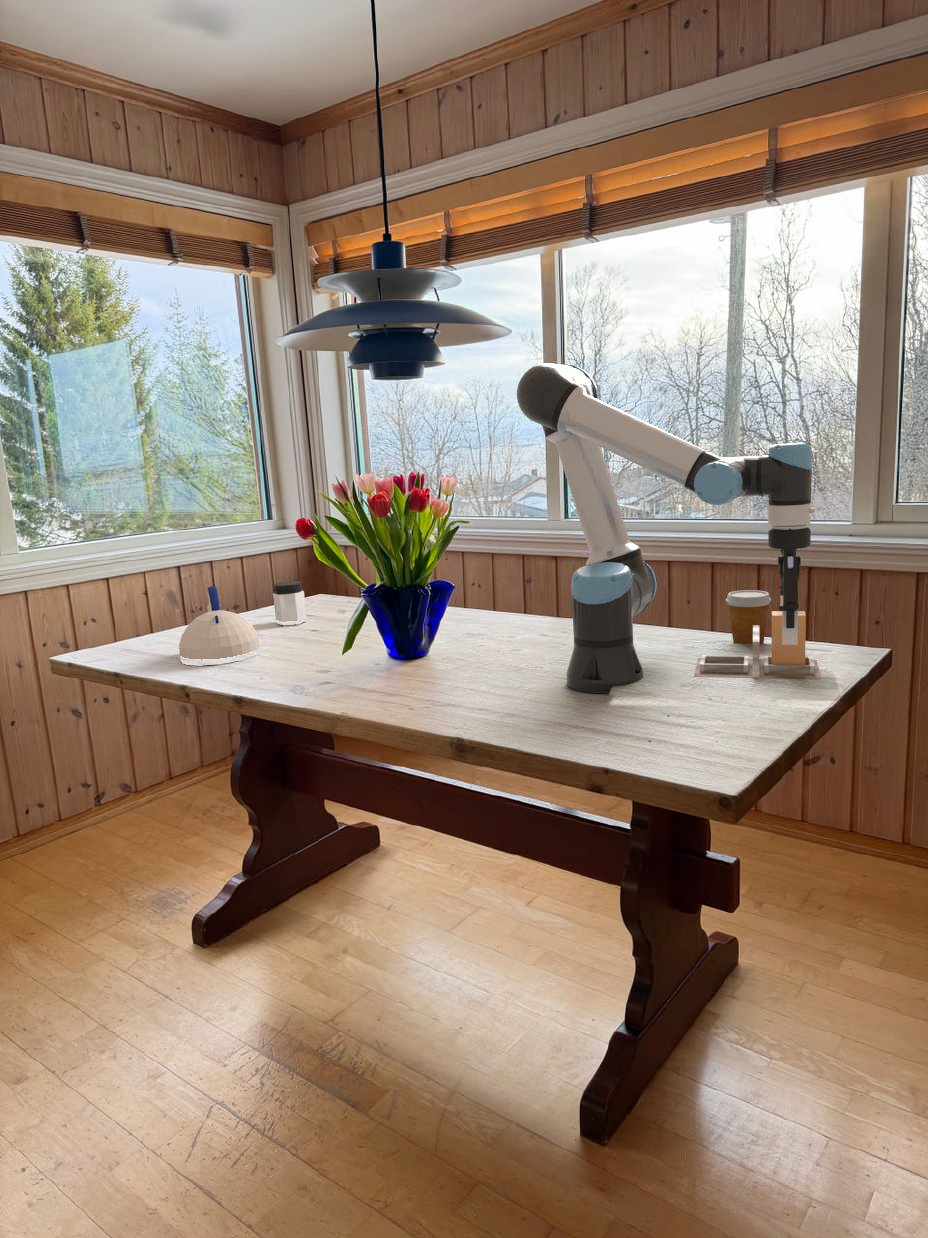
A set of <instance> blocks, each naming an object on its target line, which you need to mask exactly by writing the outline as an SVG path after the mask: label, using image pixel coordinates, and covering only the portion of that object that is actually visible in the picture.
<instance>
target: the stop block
mask: <svg viewBox="0 0 928 1238" xmlns="http://www.w3.org/2000/svg"><path fill="white" fill-rule="evenodd" d="M806 620H807V618H806V612H805V610H803V611H801V610H798V645H782V611H779V610H777V611H773V610H772V611H771V656H772V664H774V665H805V657H806V633H807V632H806Z"/></svg>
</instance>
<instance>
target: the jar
mask: <svg viewBox="0 0 928 1238" xmlns="http://www.w3.org/2000/svg"><path fill="white" fill-rule="evenodd" d="M272 586H273V593H272V597H273V604H274V615H275V621H276V620H279V621H282V622H283V621H297V620H300V619H306V618H307V619H308V617H307V616H308V615H307V609H306V608H307V607H306V600H305V597H306V596H305V591H304V590H303V584H302V581H301V580H300V581H299V580H289V581H288V580H287V581H280V582H277V583H274V584H273V585H272Z"/></svg>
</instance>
